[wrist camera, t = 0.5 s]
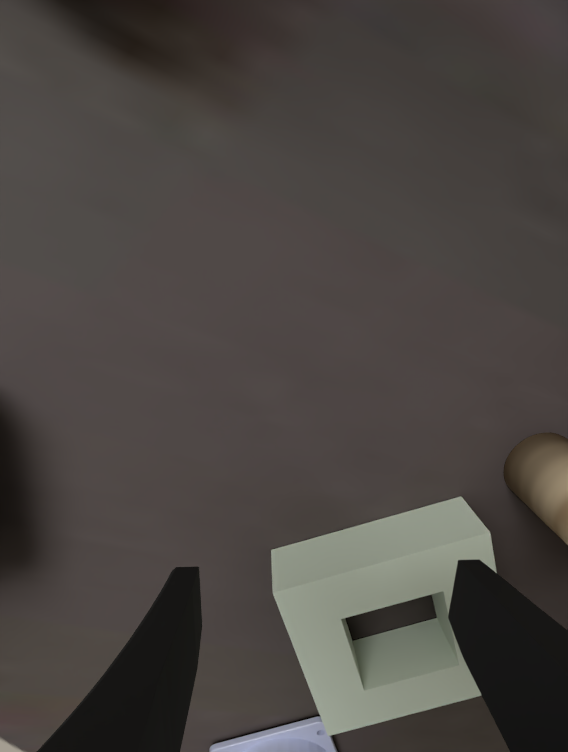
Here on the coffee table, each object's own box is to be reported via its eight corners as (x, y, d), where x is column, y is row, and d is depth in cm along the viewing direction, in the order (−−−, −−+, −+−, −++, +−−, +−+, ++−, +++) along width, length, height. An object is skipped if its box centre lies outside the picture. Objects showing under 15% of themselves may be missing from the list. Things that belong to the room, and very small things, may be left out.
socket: (486, 638, 26) (514, 686, 23) (320, 683, 26) (328, 736, 24) (461, 496, 23) (490, 532, 20) (271, 550, 23) (272, 592, 20)
